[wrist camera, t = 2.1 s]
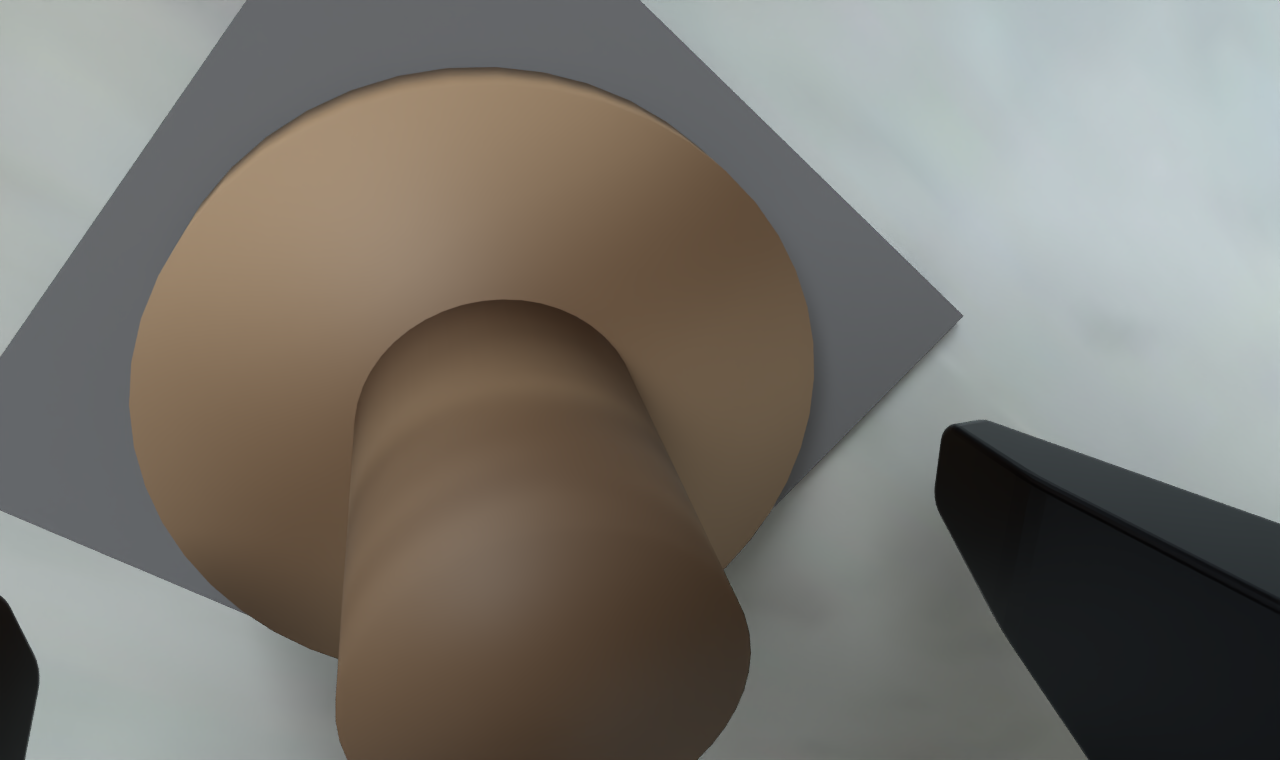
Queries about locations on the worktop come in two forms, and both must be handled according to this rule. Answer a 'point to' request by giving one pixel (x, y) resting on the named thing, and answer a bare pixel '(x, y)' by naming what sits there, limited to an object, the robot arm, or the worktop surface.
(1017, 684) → the worktop surface
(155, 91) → the worktop surface
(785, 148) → the mat
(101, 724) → the worktop surface
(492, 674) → the lid
